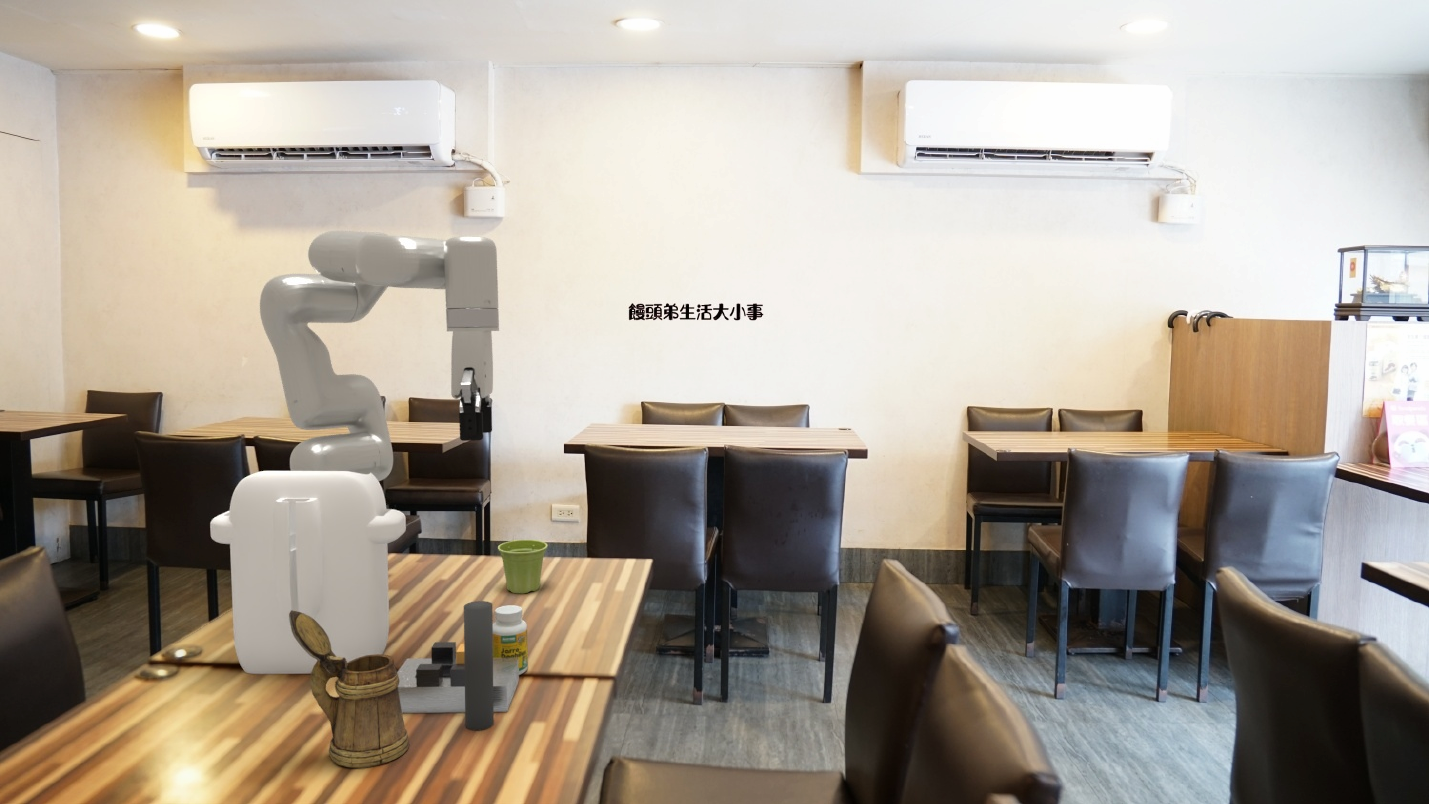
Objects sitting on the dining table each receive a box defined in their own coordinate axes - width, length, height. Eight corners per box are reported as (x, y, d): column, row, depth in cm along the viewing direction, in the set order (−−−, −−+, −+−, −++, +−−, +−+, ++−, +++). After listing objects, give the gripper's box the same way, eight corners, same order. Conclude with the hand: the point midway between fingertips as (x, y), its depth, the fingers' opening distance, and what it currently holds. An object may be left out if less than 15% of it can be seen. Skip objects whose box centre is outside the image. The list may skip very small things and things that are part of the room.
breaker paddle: (456, 672, 124) (456, 651, 124) (461, 664, 127) (460, 643, 127) (478, 672, 124) (478, 651, 124) (482, 664, 127) (482, 643, 127)
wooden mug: (306, 736, 114) (301, 598, 112) (416, 732, 115) (413, 596, 113) (280, 772, 105) (275, 623, 103) (399, 767, 106) (396, 620, 105)
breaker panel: (386, 713, 120) (385, 670, 120) (407, 682, 130) (406, 642, 130) (507, 711, 121) (506, 668, 121) (518, 681, 131) (518, 641, 131)
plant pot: (542, 597, 170) (542, 552, 169) (492, 596, 170) (492, 551, 169) (551, 582, 179) (551, 540, 178) (505, 581, 179) (504, 539, 178)
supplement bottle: (520, 661, 139) (519, 601, 138) (533, 673, 134) (532, 611, 133) (486, 668, 136) (485, 607, 135) (498, 680, 131) (497, 617, 130)
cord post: (462, 730, 116) (460, 610, 114) (468, 717, 119) (467, 601, 118) (490, 730, 116) (489, 610, 114) (495, 717, 120) (494, 601, 118)
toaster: (198, 683, 129) (189, 478, 126) (235, 654, 140) (227, 464, 137) (392, 681, 131) (387, 478, 128) (412, 652, 142) (409, 465, 139)
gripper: (456, 322, 141) (460, 430, 142) (435, 321, 124) (440, 444, 125) (505, 321, 142) (508, 429, 143) (490, 320, 125) (494, 442, 126)
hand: (476, 436), depth 134 cm, fingers open, 9 cm apart
